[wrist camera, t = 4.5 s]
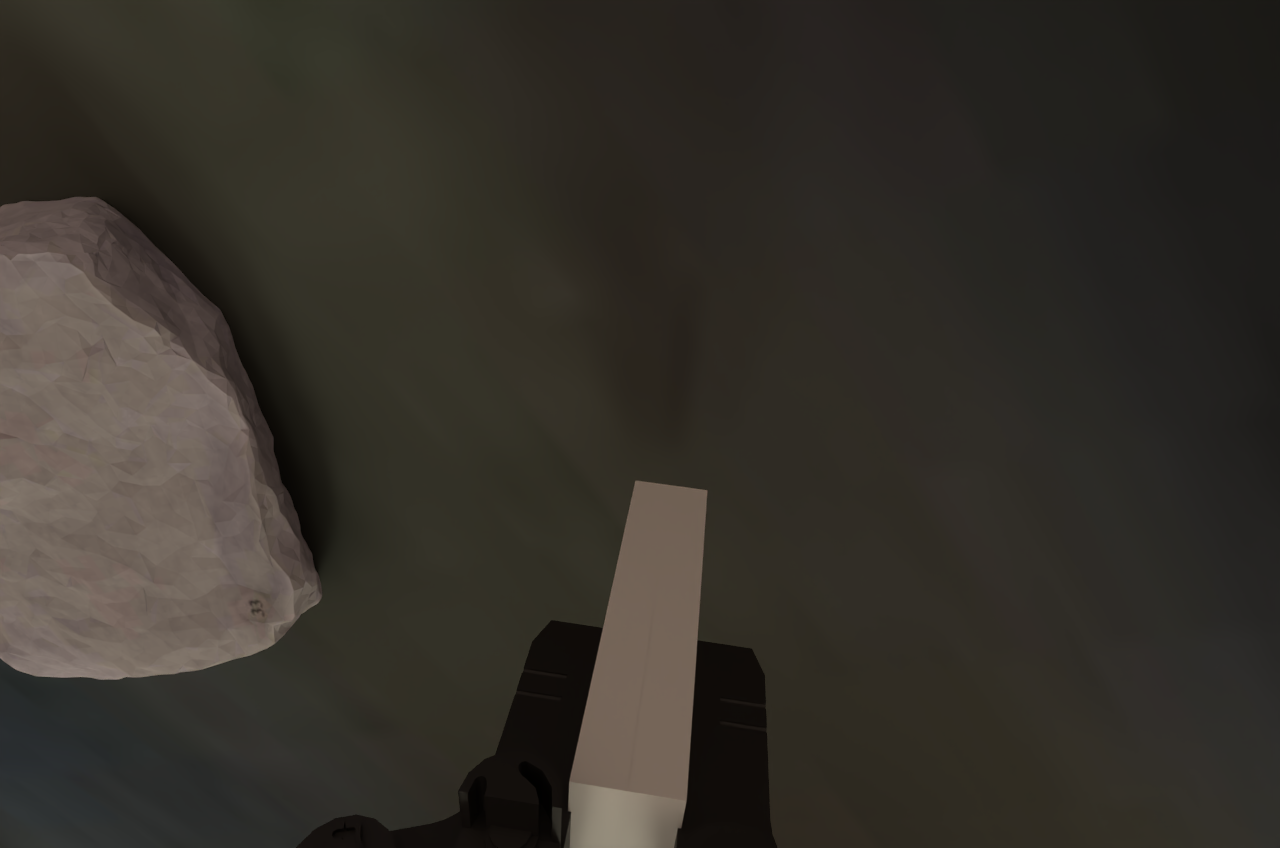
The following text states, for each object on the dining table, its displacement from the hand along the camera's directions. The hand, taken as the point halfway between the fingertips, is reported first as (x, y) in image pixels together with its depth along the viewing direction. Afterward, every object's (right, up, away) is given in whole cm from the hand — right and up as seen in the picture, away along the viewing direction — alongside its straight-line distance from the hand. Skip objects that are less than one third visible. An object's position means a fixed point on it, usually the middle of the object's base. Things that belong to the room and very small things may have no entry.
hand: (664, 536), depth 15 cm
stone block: (-13, +2, +4) cm, 14 cm away
